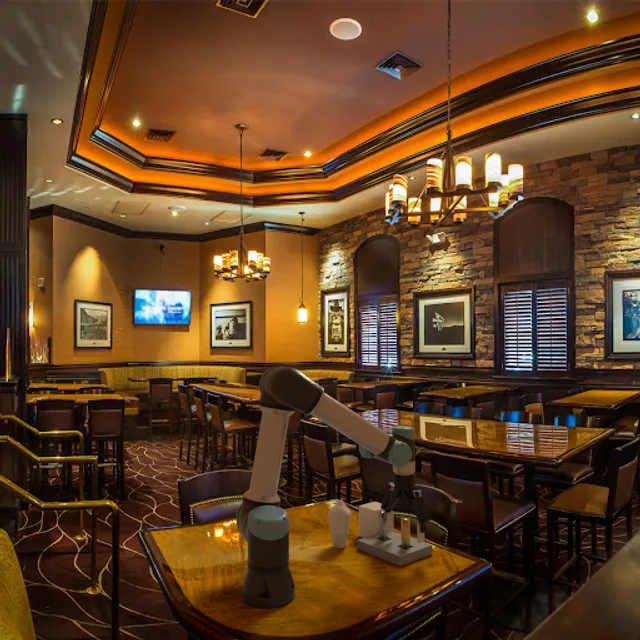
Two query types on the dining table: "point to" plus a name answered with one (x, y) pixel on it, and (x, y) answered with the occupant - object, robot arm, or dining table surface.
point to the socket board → (394, 548)
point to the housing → (369, 519)
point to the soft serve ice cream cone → (339, 524)
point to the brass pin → (405, 533)
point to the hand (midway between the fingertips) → (405, 536)
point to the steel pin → (382, 526)
